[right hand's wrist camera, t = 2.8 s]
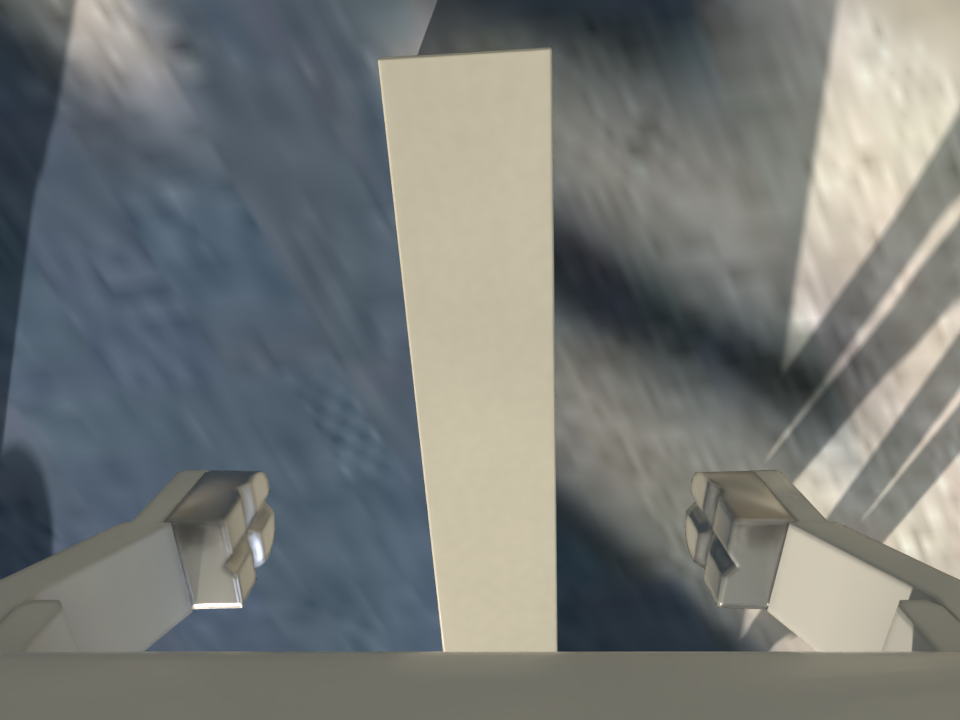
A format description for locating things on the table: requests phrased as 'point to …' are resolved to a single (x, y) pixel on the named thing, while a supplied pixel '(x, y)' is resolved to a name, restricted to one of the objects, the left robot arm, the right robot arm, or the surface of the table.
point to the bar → (481, 331)
